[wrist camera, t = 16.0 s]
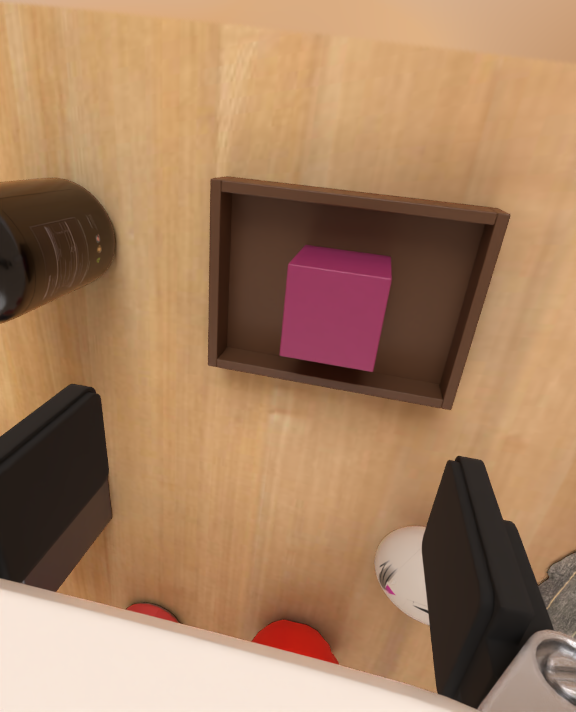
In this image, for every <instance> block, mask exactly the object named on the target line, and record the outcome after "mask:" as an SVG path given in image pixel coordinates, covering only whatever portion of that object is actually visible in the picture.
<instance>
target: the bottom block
mask: <svg viewBox="0 0 576 712" xmlns="http://www.w3.org/2000/svg"><path fill="white" fill-rule="evenodd" d="M111 519H112V512H111V504H110V495H109V486H108V477H107V479H106V481H105V483H104V484H103V486H102V487H101V488H100V489H99V490H98V492H97V493H96V494H95V495H94V496H93V498H92V499H91V500H90V501H89V502H88V504H87V505H86V506H85V507H84V508H83V510H82V511H81V512H80V513H79V515H78V516H77V517H76V518H75V519H74V521H73V522H72V523H71V524H70V525H69V527H68V528H67V529H66V530H65V531H64V533H63V534H62V535H61V536H60V537H59V539H58V540H57V541H56V542H55V544H54V545H53V546H52V547H51V548H50V550H49V551H48V552H47V553H46V554H45V556H44V557H43V558H42V559H41V560H40V562H39V563H38V564H37V565H36V566H35V568H34V569H33V570H32V571H31V573H30V574H29V575H28V576H27V577H26V579H25V580H24V581H23V582H22V583H21V584H25V585H29V586H33V587H37V588H41V589H45V590H49V591H53V592H56V591H57V590H58V589H59V587H60V586H61V585H62V583H63V582H64V581H65V579H66V578H67V577H68V575H69V574H70V573H71V571H72V570H73V569H74V567H75V566H76V565H77V563H78V562H79V561H80V560H81V558H82V557H83V556H84V554H85V553H86V552H87V550H88V549H89V548H90V546H91V545H92V544H93V542H94V541H95V540H96V538H97V537H98V536H99V534H100V533H101V532H102V530H103V529H104V528H105V527H106V525H107V524H108V523H109V521H110V520H111Z"/></svg>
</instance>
